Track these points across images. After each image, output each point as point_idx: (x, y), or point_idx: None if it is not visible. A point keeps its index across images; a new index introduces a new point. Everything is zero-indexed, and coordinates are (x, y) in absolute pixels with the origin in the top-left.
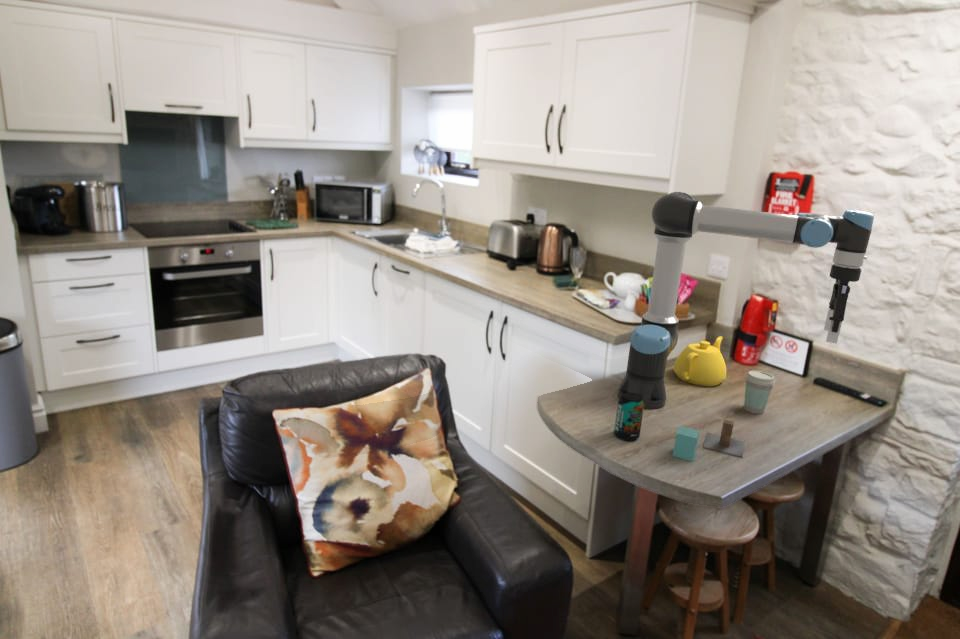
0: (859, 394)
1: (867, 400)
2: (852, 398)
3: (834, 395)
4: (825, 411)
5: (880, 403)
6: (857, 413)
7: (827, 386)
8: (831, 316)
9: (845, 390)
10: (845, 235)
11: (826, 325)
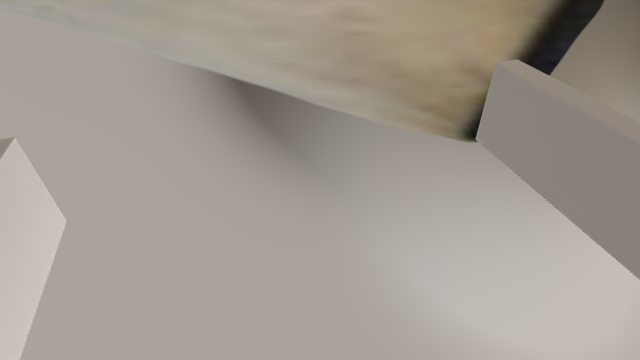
0: None
1: None
2: None
3: (504, 32)
4: (358, 17)
5: None
6: (392, 97)
7: (570, 8)
8: (611, 182)
9: (550, 57)
10: None
11: (527, 96)
